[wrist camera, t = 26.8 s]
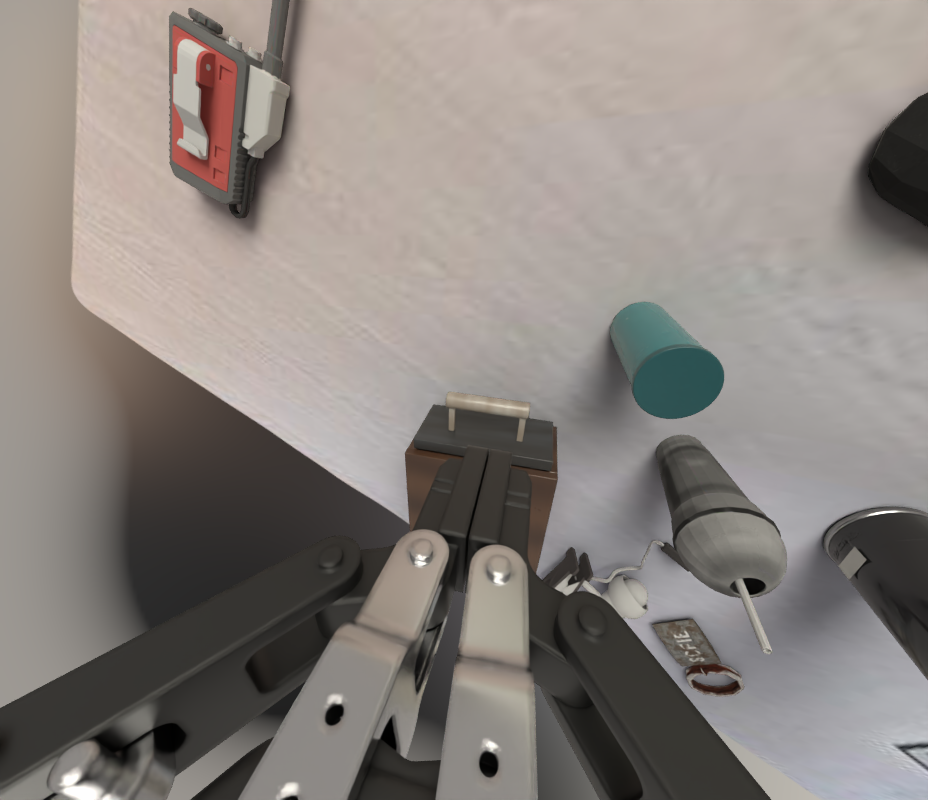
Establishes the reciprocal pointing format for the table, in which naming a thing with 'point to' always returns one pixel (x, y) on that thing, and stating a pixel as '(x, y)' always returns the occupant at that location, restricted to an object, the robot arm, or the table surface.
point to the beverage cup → (719, 527)
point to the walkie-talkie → (223, 105)
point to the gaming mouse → (904, 161)
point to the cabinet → (543, 482)
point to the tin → (664, 362)
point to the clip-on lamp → (621, 590)
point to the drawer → (487, 430)
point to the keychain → (697, 656)
